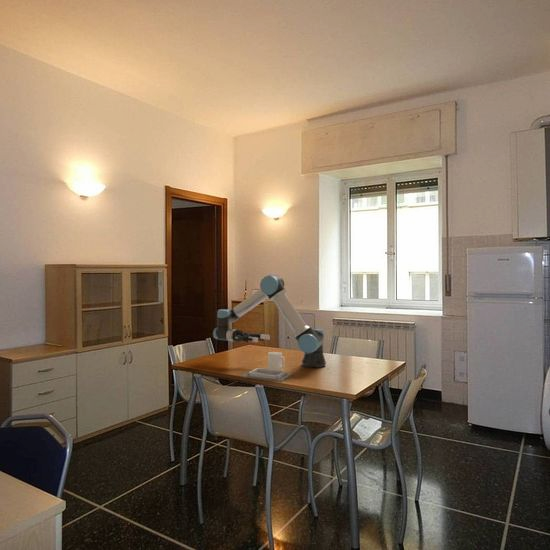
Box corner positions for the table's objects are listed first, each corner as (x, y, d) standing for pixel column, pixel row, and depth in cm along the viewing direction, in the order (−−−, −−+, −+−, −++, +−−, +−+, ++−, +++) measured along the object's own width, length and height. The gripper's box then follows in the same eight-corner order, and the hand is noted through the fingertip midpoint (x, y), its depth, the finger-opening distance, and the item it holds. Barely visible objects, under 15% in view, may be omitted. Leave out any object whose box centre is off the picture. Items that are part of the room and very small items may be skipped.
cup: (274, 368, 273) (274, 351, 272) (289, 371, 265) (289, 354, 264) (264, 370, 266) (265, 353, 266) (280, 373, 258) (280, 355, 258)
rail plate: (292, 374, 255) (292, 370, 255) (281, 382, 238) (282, 377, 238) (253, 370, 263) (253, 366, 263) (241, 377, 246) (241, 373, 246)
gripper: (246, 339, 292) (274, 342, 281) (223, 343, 270) (252, 347, 260) (246, 327, 292) (274, 330, 281) (223, 331, 270) (252, 334, 260)
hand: (263, 338), depth 270 cm, fingers open, 13 cm apart
